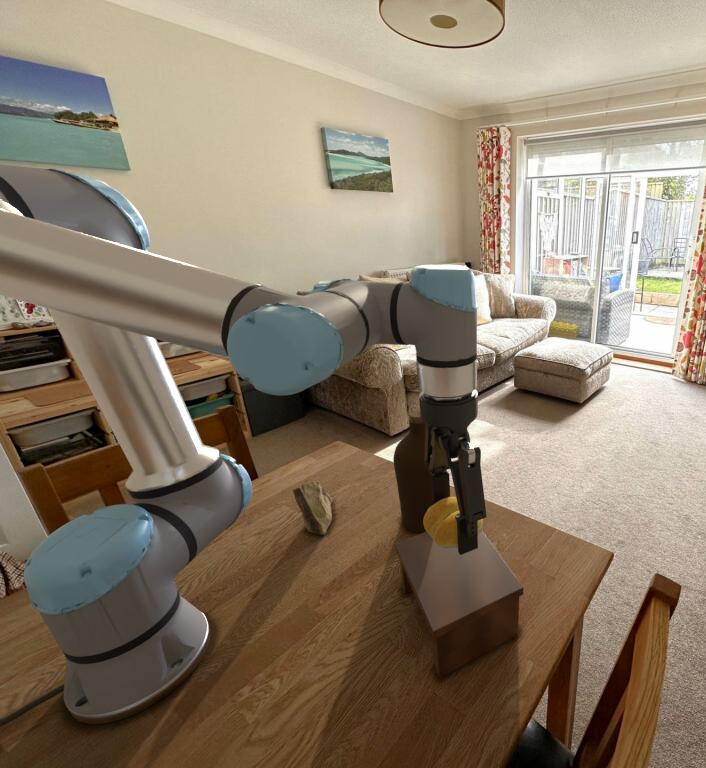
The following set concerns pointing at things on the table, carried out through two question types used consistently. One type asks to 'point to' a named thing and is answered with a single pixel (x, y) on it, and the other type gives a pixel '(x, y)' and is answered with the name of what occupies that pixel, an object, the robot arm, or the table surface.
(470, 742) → the table surface
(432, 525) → the bread roll
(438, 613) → the block
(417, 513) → the olive oil
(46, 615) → the robot arm
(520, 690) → the table surface
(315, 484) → the rock
